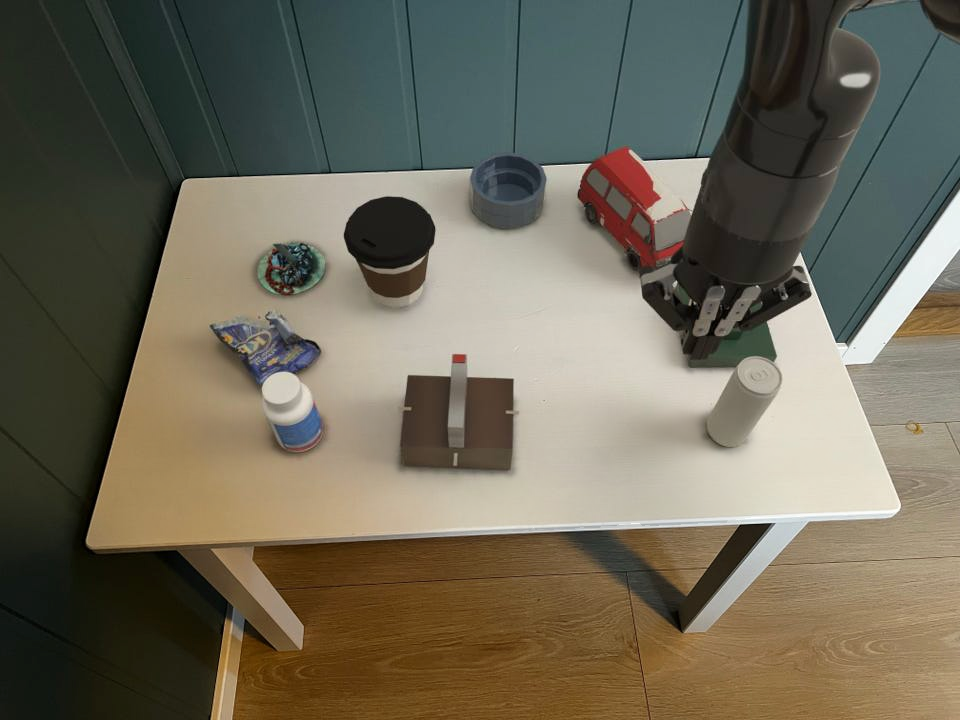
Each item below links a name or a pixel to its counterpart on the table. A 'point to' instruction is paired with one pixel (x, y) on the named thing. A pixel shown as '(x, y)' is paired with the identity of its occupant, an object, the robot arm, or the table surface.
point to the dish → (291, 268)
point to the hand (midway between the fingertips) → (695, 351)
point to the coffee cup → (391, 247)
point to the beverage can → (744, 400)
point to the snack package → (267, 345)
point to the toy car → (634, 208)
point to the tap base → (483, 424)
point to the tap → (457, 401)
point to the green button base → (737, 343)
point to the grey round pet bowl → (507, 189)
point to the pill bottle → (291, 412)
